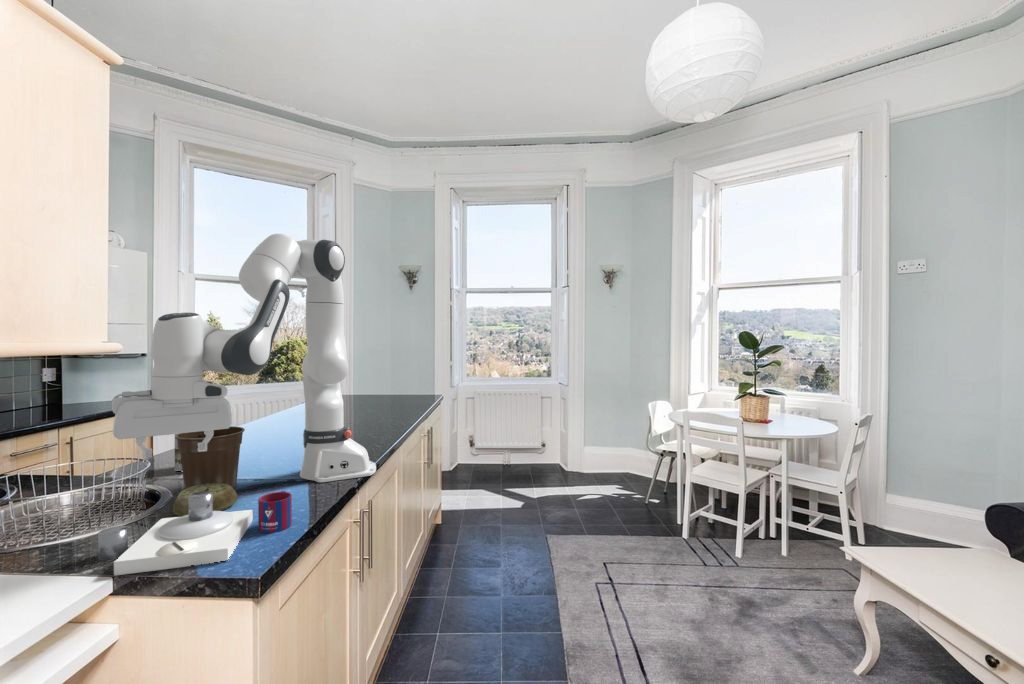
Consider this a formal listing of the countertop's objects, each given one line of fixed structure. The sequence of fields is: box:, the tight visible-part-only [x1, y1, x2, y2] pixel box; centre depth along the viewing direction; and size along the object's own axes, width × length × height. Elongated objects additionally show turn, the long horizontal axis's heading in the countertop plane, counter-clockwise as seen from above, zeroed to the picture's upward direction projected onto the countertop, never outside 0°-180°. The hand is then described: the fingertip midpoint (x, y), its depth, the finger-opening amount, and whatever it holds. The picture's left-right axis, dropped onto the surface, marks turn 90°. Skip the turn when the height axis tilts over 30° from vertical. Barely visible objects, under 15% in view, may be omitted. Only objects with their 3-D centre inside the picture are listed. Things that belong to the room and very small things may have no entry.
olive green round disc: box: [172, 483, 238, 517], centre depth 114 cm, size 14×14×5 cm
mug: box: [257, 490, 293, 534], centre depth 105 cm, size 7×10×7 cm
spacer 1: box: [97, 525, 129, 562], centre depth 90 cm, size 4×4×5 cm
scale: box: [113, 509, 254, 576], centre depth 94 cm, size 18×20×3 cm
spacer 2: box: [188, 491, 213, 521], centre depth 100 cm, size 4×4×5 cm
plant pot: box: [174, 425, 245, 490], centre depth 128 cm, size 16×16×16 cm
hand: (175, 454), depth 96 cm, fingers open, 8 cm apart
